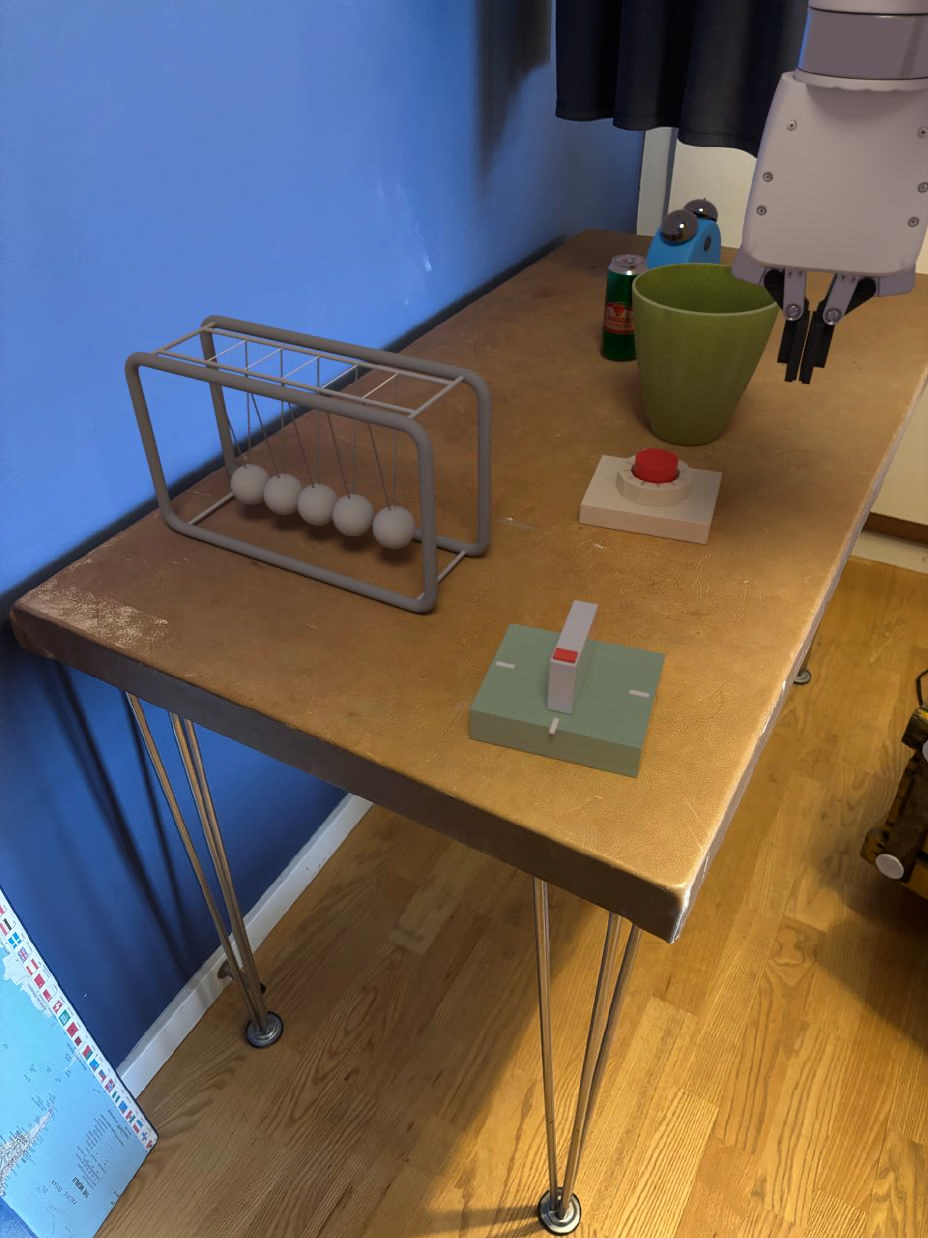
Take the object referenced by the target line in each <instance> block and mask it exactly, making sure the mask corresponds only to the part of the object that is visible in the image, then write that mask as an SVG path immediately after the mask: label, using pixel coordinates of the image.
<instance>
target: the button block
mask: <svg viewBox="0 0 928 1238" xmlns="http://www.w3.org/2000/svg"><path fill="white" fill-rule="evenodd" d="M636 455H637V454H634V455H632V456H629V457H628V458H625V457H618V456H613V455H605V454H602V455H601V457H600V460H599V462H598V464H597V466H596V468H595V471H594V473H593V474H592V477H591V480H590V481H589V484H588V486H587V488H586V491H585V493H584V495H583V497H582V500H581V502H580V504H579V505H580V506H579V518H578V523H579V524H580V525H588V526H593V527H599V528H605V529H606V528H607V529H610V530H611V529H612V530H618V531H622V532H629V533H633V534H634V533H635V534H639V535H640V534H641V535H648V536H653V537H658V538H665V539H670V540H675V541H676V540H677V541H682V542H688V543H694V544H700V545H707V544H708V540H709V536H710V531H711V526H712V522H713V519H714V514H715V510H716V505H717V501H718V496H719V493H720V488H721V487H720V486H721V481H722V477H723V472H721V471H713V470H707V469H701V468H693V467H690V466H689V465H688V464H687V463H686V462H684V461H682V460H680V459H679V462H678V468H677V475H676V479H675V480H674V481H672V482H670V483H661V484H655V483H649V482H644V481H642V480H640V479H638V478H636V477H635V476H634V466H635V458H636Z"/></svg>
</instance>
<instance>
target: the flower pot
mask: <svg viewBox="0 0 928 1238" xmlns="http://www.w3.org/2000/svg"><path fill="white" fill-rule="evenodd" d="M731 269H732V265H729V264H721V263H719V264H711V263H682V264H672V265H665V266H660V267H656V268H653V269H650V270H647V271H645V272H643V273H641V274H640V275H638V276H637V277H636V278H635V279H634V281H633V284H632V299H633V325H634V338H635V348H636V357H635V358H636V363H637V370H638V377H639V381H640V386H641V393H642V397H643V401H644V405H645V410H646V414H647V417H648V420H649V425H650V427H651V430H652V432H653V434H654V435H655V436H656V437H657V438H659V439H661V440H662V441H664V442H666V443H670V444H673V445H677V446H685V447H686V446H687V447H691V446H692V447H694V446H702V445H707V444H709V443H711V442H713V441H715V440H716V439H717V438H718V437H719V436H720V435H721V433H722V431H723V430H724V428H725V426H726V425H727V423H728V421H729V420H730V418H731V416H732V415H733V413H734V411H735V410H736V408H737V407H738V405H739V402H740V400H741V398H742V397H743V395H744V393H745V391H746V389H747V388H748V386H749V384H750V382H751V380H752V378H753V376H754V374H755V372H756V369H757V367H758V365H759V363H760V361H761V358H762V356H763V354H764V352H765V350H766V347H767V344H768V343H769V340H770V337H771V335H772V332H773V330H774V326H775V323H776V321H777V318H778V315H779V313H780V310H781V308H780V307H779V306H778V304H777V303H776V302H775V300H774V299H773V298H772V296H771V295H770V294H769V292H768V291H767V290H766V288H765V287H763V286H760V285H755V284H752V283H749V282H746V281H743V280H741V279H738V278H735V277H734V276H733V275H732V273H731Z"/></svg>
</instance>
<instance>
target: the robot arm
mask: <svg viewBox="0 0 928 1238" xmlns="http://www.w3.org/2000/svg"><path fill="white" fill-rule="evenodd" d="M798 50H799V51H798V55H797V60H796V67H795V70H793V71H792V70H791V71H786V72H783V73H782V74H781V77H780V79H779V81H778V84H777V87H776V89H775V92H774V95H773V99H772V101H771V104H770V107H769V111H768V114H767V117H766V119H765V124H764V128H763V132H762V136H761V138H760V139H761V140H760V144H759V148H758V153H757V157H756V162H755V165H754V171H753V174H752V179H751V185H750V189H749V194H748V199H747V203H746V208H745V213H744V219H743V225H742V232H741V233H742V234H741V243H740V246H739V248H738V251H737V252H736V255H735V258H734V260H733V262H732V265H731V266H732V269H731V273H732V275H733V276H734V277H735V278H738V279H741V280H743V281H746V282H749V283H752V284H755V285H760V286H763V287H765V288H766V290H767V291H768V292H769V294H770V295H771V296H772V298H773V299H774V300H775V302H776V303H777V304H778V306H779V307H780V310H781V311H782V315H783V317H784V319H785V320H784V321H785V322H784V326H783V329H782V335H781V340H780V344H779V348H778V354H777V358H776V364H782V365H783V364H784V365H786V368H785V374H784V379H783V380H784V382H785V383H793V382H794V381H795V382H796V381H797V378H798V382H801V385H811V381H812V377H813V372H814V368H818V369H825V368H826V365H827V360H828V355H829V352H830V348H831V344H832V340H833V336H834V331H835V328H836V325H837V324H840V323H841V322H842V320H843V318H844V317H845V316H847V315H848V314H849V313H852V312H853V311H854V310H855V309H857V308H858V307H860V306H862V305H863V304H865V303H866V302H867V301H869V300H870V299H872V298H884V297H892V296H898V295H907V294H910V293H911V292H912V291H913V290H914V289H915V286H916V270H917V269H916V268H917V261H918V258H919V256H920V254H921V251H922V248H923V245H924V241H925V238H926V234H927V231H928V0H808V2H807V7H806V13H805V18H804V22H803V29H802V35H801V40H800V45H799V49H798ZM808 272H812V273H813V272H814V273H823V274H833V275H832V279H831V281H830V283H829V286H828V288H827V291H826V293H825V296H824V299H822V300H821V301H818V304H817V307H816V310H812V314H811V310H810V309H809V308H810V300H809V299H808V298H807V296H806V293H807V292H806V289H807V277H808ZM798 374H799V375H798Z"/></svg>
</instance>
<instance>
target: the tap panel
mask: <svg viewBox="0 0 928 1238" xmlns="http://www.w3.org/2000/svg"><path fill="white" fill-rule="evenodd" d="M560 634H561V632H559V631H553V630H549V629H548V630H547V629H543V628H538V627H532V626H528V625H523V624H518V623H513V622H510V623H509V624H508V627H507V629H506V631H505V633H504V635H503V638H502V639H501V642H500V644H499V646H498V648H497V650H496V652H495V654H494V656H493V659H492V661H491V662H490V665H489V666H488V669H487V671H486V673H485V675H484V678H483V680H482V682H481V684H480V686H479V688H478V690H477V692H476V695H475V697H474V700H473V701H472V703H471V706H470V708H469V738H470V739H471V740H476V741H479V742H484V743H488V744H492V745H496V746H500V747H505V748H508V749H509V748H510V749H513V750H516V751H521V752H525V753H530V754H533V755H538V756H541V757H542V756H543V757H548V758H551V759H555V760H559V761H563V762H568V763H570V764H571V763H572V764H575V765H581V766H584V767H588V768H593V769H597V770H602V771H606V772H610V773H614V774H618V775H623V776H625V777H626V776H627V777H631V778H635V779H637V778H638V776H639V773H640V769H641V765H642V761H643V756H644V753H645V748H646V744H647V740H648V736H649V732H650V729H651V724H652V720H653V716H654V713H655V708H656V704H657V700H658V696H659V692H660V688H661V684H662V679H663V673H664V667H665V660H666V653H662V652H657V651H652V650H648V649H644V648H637V647H632V646H628V645H623V644H618V643H612V642H607V641H602V640H599V639H595V643H594V652H593V655H592V658H591V661H590V664H589V666H588V669H587V672H586V675H585V678H584V681H583V684H582V687H581V690H580V692H579V695H578V698H577V701H576V704H575V707H574V710H573V713H572V714H566V713H562V712H557V711H553V710H549V709H547V697H548V681H549V666H550V659H551V657H552V654H553V652H554V649H555V647H556V644H557V642H558V639H559V637H560Z"/></svg>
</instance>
